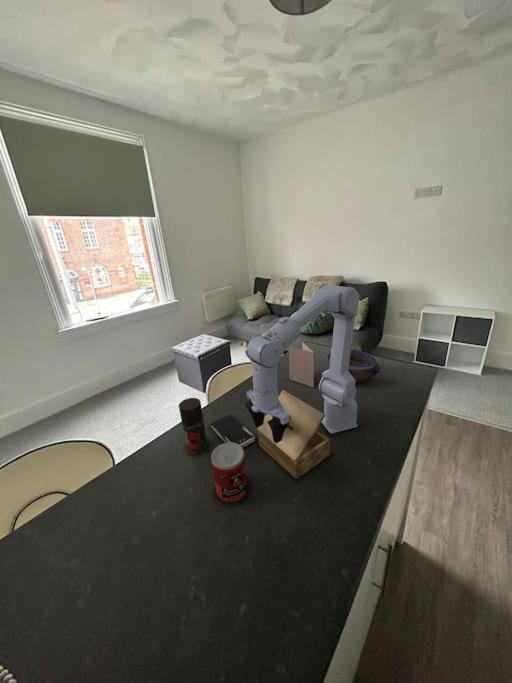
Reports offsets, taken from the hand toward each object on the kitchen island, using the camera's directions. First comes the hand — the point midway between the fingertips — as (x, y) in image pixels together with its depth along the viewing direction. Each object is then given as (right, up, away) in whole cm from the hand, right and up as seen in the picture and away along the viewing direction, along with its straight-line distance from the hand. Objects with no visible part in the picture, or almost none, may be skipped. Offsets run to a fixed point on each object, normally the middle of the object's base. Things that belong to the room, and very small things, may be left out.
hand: (268, 433), depth 70 cm
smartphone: (-11, -6, +17) cm, 20 cm away
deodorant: (-21, -8, +12) cm, 25 cm away
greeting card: (+15, +7, +43) cm, 46 cm away
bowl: (+36, +8, +43) cm, 57 cm away
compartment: (+7, -8, +8) cm, 13 cm away
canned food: (-9, -13, -2) cm, 16 cm away
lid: (+6, +1, +4) cm, 7 cm away
